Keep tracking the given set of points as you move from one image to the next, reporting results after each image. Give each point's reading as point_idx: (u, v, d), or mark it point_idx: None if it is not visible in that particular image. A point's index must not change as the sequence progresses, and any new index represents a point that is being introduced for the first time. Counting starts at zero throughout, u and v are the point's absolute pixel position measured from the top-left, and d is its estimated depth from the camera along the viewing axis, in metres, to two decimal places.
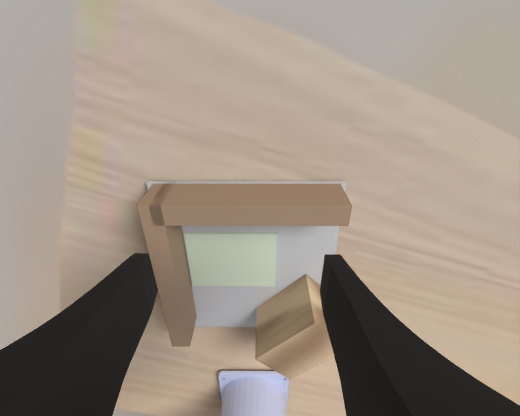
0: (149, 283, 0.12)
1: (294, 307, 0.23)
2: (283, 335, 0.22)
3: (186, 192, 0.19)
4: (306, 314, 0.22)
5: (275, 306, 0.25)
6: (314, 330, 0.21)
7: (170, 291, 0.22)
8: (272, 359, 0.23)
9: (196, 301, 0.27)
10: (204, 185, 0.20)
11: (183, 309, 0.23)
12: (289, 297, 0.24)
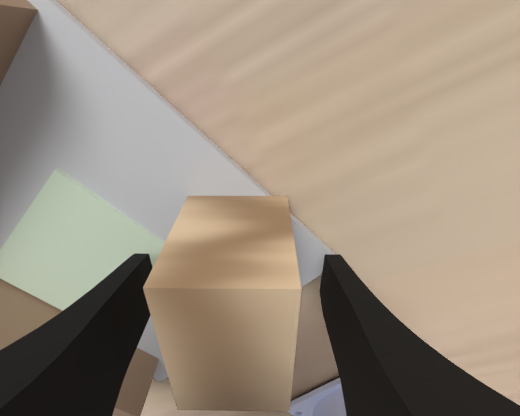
0: None
1: None
2: None
3: None
4: None
5: None
6: (168, 301, 0.08)
7: None
8: (203, 396, 0.10)
9: None
10: None
11: None
12: None
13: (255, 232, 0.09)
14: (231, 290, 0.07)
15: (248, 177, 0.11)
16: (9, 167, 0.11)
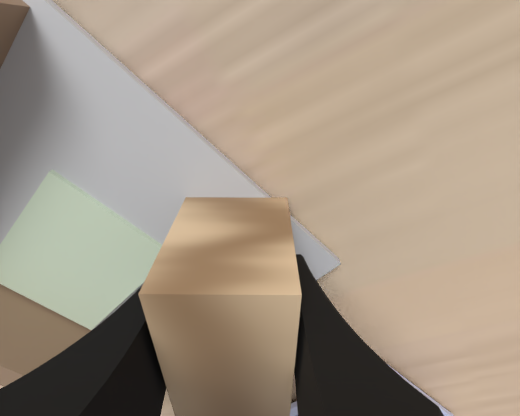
0: None
1: None
2: None
3: None
4: None
5: None
6: (164, 308, 0.07)
7: None
8: (201, 402, 0.10)
9: None
10: None
11: None
12: None
13: (254, 235, 0.09)
14: (230, 297, 0.07)
15: (247, 178, 0.11)
16: (3, 169, 0.11)
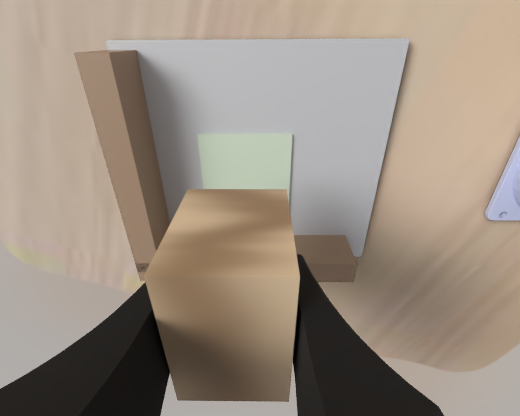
0: None
1: None
2: None
3: None
4: None
5: None
6: (168, 290, 0.08)
7: None
8: (203, 386, 0.10)
9: (317, 233, 0.21)
10: None
11: None
12: None
13: (254, 224, 0.10)
14: (231, 278, 0.07)
15: (294, 39, 0.15)
16: (179, 154, 0.18)
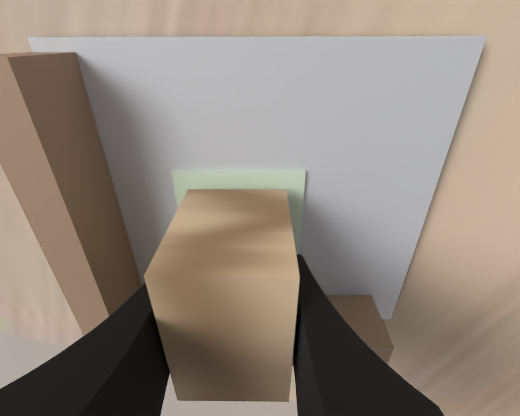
0: None
1: None
2: None
3: None
4: None
5: None
6: (168, 290, 0.08)
7: None
8: (203, 386, 0.10)
9: (334, 292, 0.16)
10: None
11: None
12: None
13: (254, 224, 0.10)
14: (231, 278, 0.07)
15: None
16: (147, 196, 0.13)
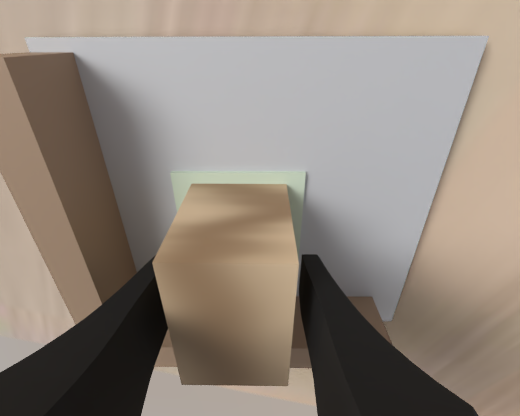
0: None
1: None
2: None
3: None
4: None
5: None
6: (175, 276, 0.08)
7: None
8: (206, 371, 0.10)
9: None
10: None
11: (299, 342, 0.13)
12: None
13: (255, 216, 0.10)
14: (234, 266, 0.08)
15: None
16: (146, 198, 0.13)
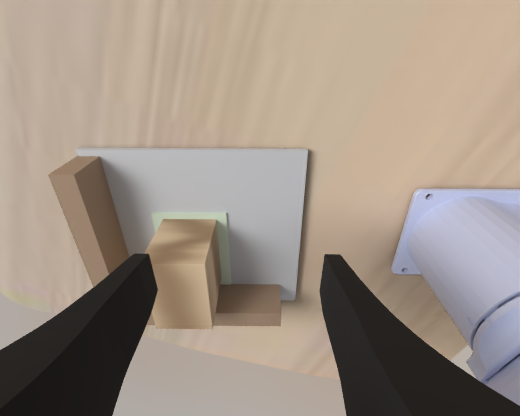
0: (149, 283, 0.12)
1: None
2: None
3: None
4: None
5: None
6: None
7: None
8: (168, 319, 0.20)
9: (255, 282, 0.25)
10: None
11: (227, 309, 0.23)
12: None
13: (192, 239, 0.20)
14: (175, 265, 0.18)
15: (220, 149, 0.19)
16: (138, 226, 0.22)
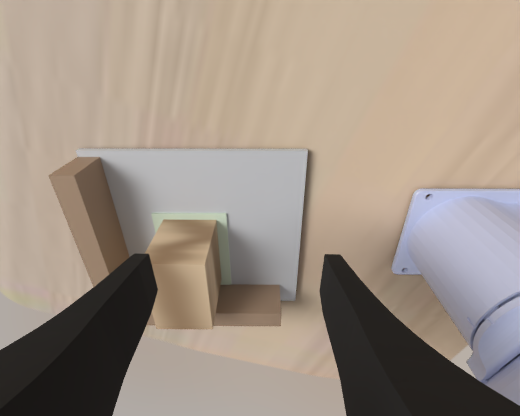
0: (149, 283, 0.12)
1: None
2: None
3: None
4: None
5: None
6: None
7: None
8: (168, 320, 0.20)
9: (256, 283, 0.25)
10: None
11: (227, 310, 0.23)
12: None
13: (192, 240, 0.20)
14: (176, 265, 0.18)
15: (220, 149, 0.19)
16: (138, 226, 0.22)
